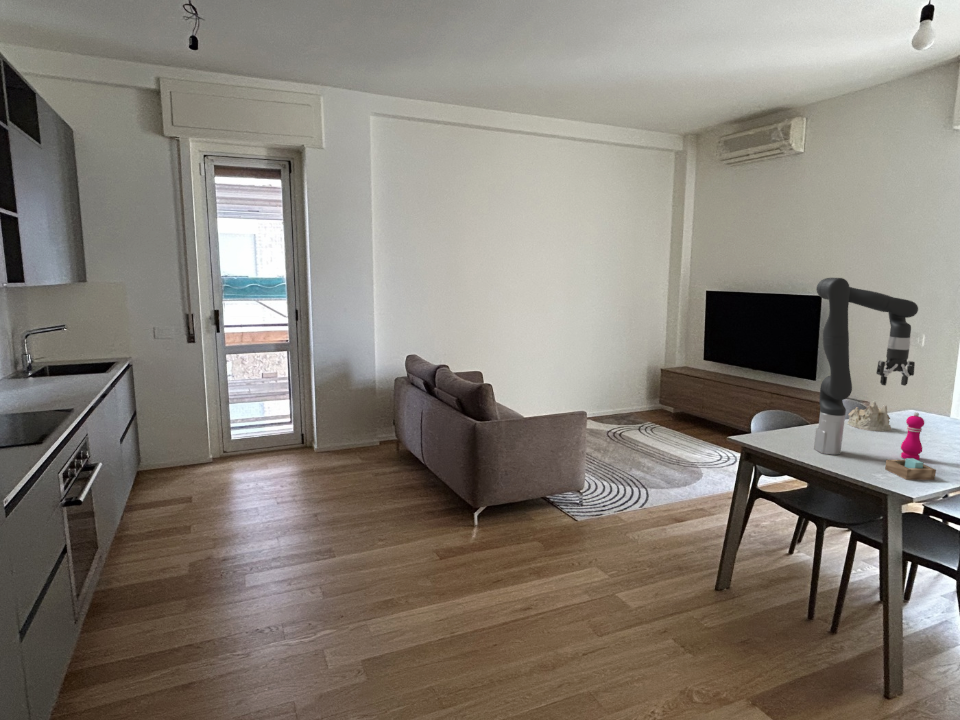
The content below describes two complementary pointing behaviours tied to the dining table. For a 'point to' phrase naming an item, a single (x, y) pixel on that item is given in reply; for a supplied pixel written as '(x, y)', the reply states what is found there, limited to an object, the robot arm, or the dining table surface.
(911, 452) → the pepper mill
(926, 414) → the dining table surface
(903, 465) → the wooden tray
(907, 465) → the teal block
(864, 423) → the cream rough lump
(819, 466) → the dining table surface
